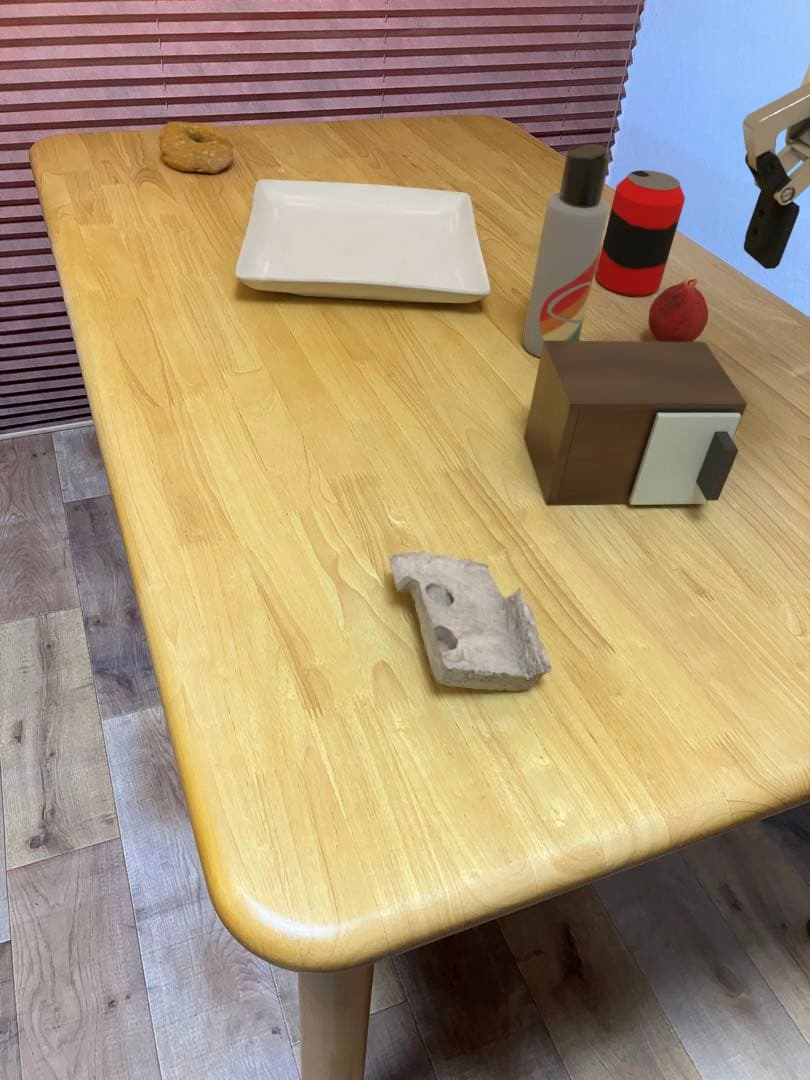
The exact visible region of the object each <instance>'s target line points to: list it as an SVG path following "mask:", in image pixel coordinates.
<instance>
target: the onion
mask: <svg viewBox="0 0 810 1080" xmlns="http://www.w3.org/2000/svg"><path fill="white" fill-rule="evenodd" d="M697 284H698V280H697V279H696V277H695V276H687V277H686V278H685V279H684V280H683V281H681V282H680V283H678V284H674V285H671V286H669V287H667V288H665V289H664V290H663V291H662V292H661V293H659V295H657V297H655V299H654V301H653V302H652V303H651V306H650V308H649V311H648V321H647V324H648V327H649V328H648V329H649V331H650V333H651V335H652V337H654V339H655V340H656V342H695V340H696V339H698V337H700V335H701V334H702V333H703V331H704V329H705V328H706V326H707V324H708V320H709V308H708V304H707V302H706V299H705V296H704V295H703V294H702V292H701V291H700V290H699V289H698V288H697V287H696V285H697Z"/></svg>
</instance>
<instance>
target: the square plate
mask: <svg viewBox="0 0 810 1080" xmlns="http://www.w3.org/2000/svg"><path fill="white" fill-rule="evenodd" d="M474 211H475V210H474V206H473V202H472V197H471V195H470V194H469V193H467V192H464V191H452V190H443V189H430V188H421V187H411V186H399V185H388V184H387V185H386V184H373V183H358V182H342V181H341V182H340V181H339V182H338V181H316V180H315V181H313V180H289V179H288V180H286V179H268V178H267V179H264V178H261V179H258V180H257V181H256V183H255V186H254V189H253V196H252V202H251V208H250V212H249V218H248V222H247V226H246V230H245V234H244V237H243V241H242V244H241V247H240V251H239V254H238V258H237V260H236V264H235V269H234V277H235V278H236V279H237V280H239V281H241V282H242V283H243V284H244V285H246V286H247V287H249V288H251V289H254V290H257V291H263V292H266V291H267V292H275V293H276V292H277V293H289V294H292V295H295V296H302V297H303V296H304V297H315V298H318V297H319V298H334V299H353V300H355V299H356V300H372V301H385V302H386V301H388V302H402V303H417V304H427V303H445V304H469V303H474V302H475V303H476V302H478V301H480V300H482V299H484V298H486V297H488V296H490V294H491V291H492V289H491V282H490V279H489V273H488V271H487V267H486V263H485V259H484V256H483V252H482V251H483V250H482V248H481V242H480V239H479V238H480V237H479V235H478V229H477V225H476V224H477V223H476V219H475V212H474Z"/></svg>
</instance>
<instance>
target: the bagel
mask: <svg viewBox="0 0 810 1080" xmlns="http://www.w3.org/2000/svg"><path fill="white" fill-rule="evenodd" d="M158 140H159V142H158V143H159V145H158V146H159V150H160V152H161V156H162V159H163V161H164V162H165V163H166V164H167V165H168V166H169V167H171V168H172V169H176V170H178V171H182V172H189V173H192V172H194V173H204V174H205V173H209V174H219V172H222V171H223V170H224V169H227V167H230V166H231V165H232V161H233V156H234V148H235V147H234V144H233V143H232V142H231V140H230V139H229V138H227V136H225V135H224V134H223V132H222V131H221V130H220V129H219V128H218V127H217V126H214V125H212V124H207V123H203V122H189V121H178V120H177V121H170V122H166V123H165V124H164V126H163V128H162V129H161V130H160V133H159V135H158Z"/></svg>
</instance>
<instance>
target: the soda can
mask: <svg viewBox="0 0 810 1080" xmlns="http://www.w3.org/2000/svg"><path fill="white" fill-rule="evenodd" d="M680 184H681V183H680V181H679V180H678V179H677V178H676V177H674V176H672V175H670V174H667V173H664V172H660V171H657V170H656V171H655V170H649V169H648V170H647V169H646V170H643V169H641V170H634V171H631V172H629V173H628V175H626V177H625V178H623V179H622V180H621V181H620V182H619V183H618V184H617V185H616V186H615V190H614V191H615V192H614V194H613V199H612V204H611V207H610V213H609V217H608V220H607V224H606V225H607V226H606V228H605V229H606V230H605V232H604V233H605V234H604V237H603V243H602V247H601V250H600V255H599V258H598V259H599V260H598V262H597V263H598V264H597V268H596V272H595V277H596V280H597V281H598V283H599V284H600V285H601V286H602V287H603V288H604V289H606V290H607V291H610V292H612V293H615V294H618V295H621V296H626V297H646V296H649V295H651V294H653V293H655V292H656V291H658V290H659V289H660V287H661V284H662V281H663V277H664V274H665V270H666V266H667V263H668V260H669V256H670V253H671V249H672V245H673V243H674V238H675V236H676V232H677V228H678V224H679V222H680V218H681V214H682V211H683V208H684V204H685V201H686V197H685V194H684V191H683V189H682V187H681V185H680Z"/></svg>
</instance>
